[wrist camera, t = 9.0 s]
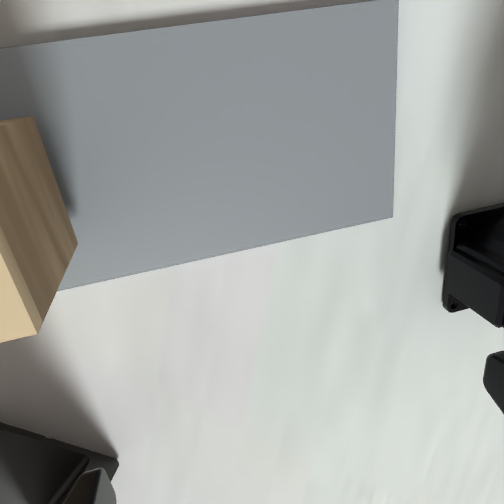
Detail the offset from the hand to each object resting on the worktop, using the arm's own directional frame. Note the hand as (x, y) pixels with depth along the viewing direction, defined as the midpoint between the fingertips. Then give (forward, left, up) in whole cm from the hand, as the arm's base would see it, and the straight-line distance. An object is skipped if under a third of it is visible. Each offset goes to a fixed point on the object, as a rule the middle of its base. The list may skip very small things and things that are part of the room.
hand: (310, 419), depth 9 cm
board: (+3, -4, -12) cm, 13 cm away
